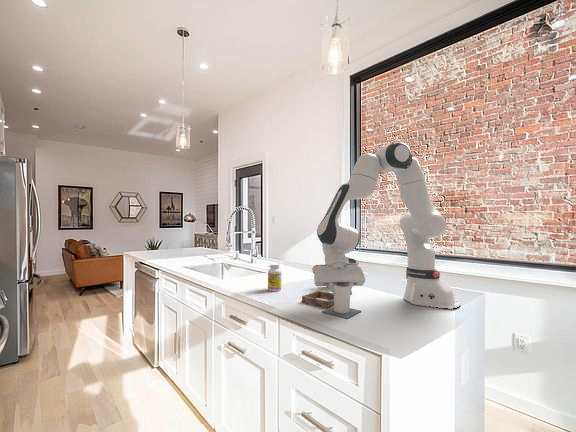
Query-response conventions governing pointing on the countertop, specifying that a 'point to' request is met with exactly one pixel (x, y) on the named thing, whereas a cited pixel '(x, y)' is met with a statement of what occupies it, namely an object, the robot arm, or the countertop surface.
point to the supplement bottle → (274, 277)
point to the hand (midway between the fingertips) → (342, 294)
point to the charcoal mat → (343, 315)
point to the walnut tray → (312, 299)
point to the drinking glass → (342, 297)
